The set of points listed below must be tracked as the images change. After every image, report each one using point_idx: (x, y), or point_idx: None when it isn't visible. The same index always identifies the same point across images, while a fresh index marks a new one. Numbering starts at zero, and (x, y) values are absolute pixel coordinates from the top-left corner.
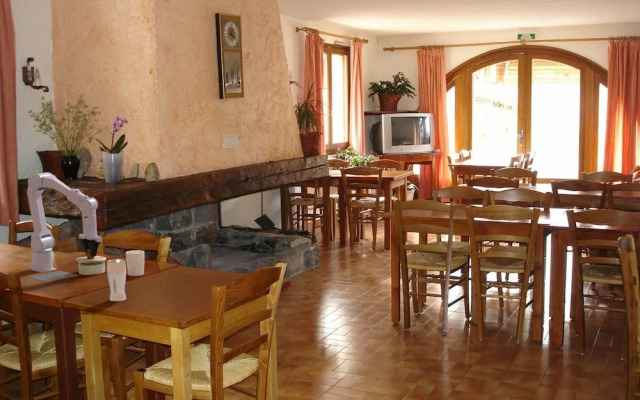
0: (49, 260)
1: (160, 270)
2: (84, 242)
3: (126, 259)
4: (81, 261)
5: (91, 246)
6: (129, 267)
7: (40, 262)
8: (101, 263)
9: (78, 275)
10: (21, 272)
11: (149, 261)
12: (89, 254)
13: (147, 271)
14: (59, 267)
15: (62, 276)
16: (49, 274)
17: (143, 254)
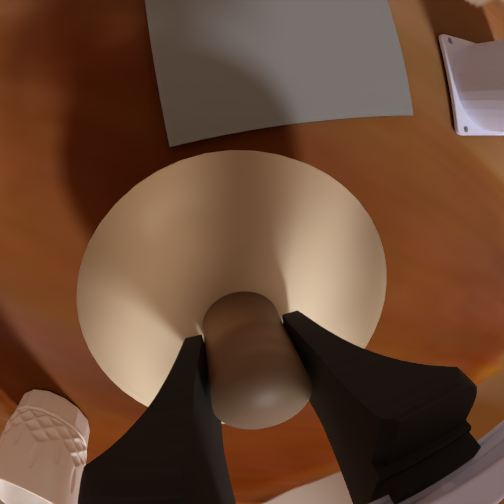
0: (500, 89)
1: None
2: (368, 430)
3: (21, 451)
4: (138, 184)
5: (122, 441)
6: (15, 417)
7: (495, 43)
8: None
9: (169, 142)
10: (485, 13)
11: (277, 491)
12: (215, 338)
13: (96, 457)
14: (486, 177)
15: (224, 36)
16: (355, 14)
17: (17, 500)
